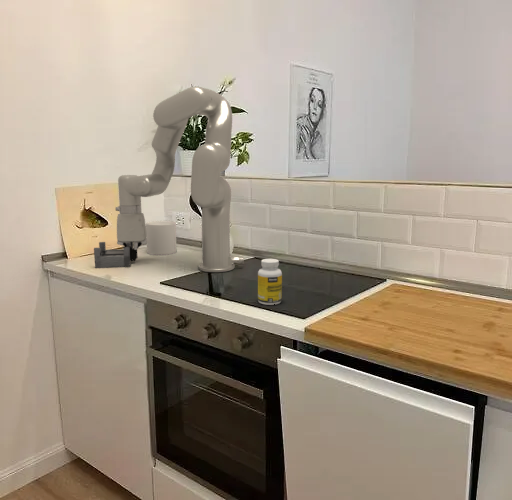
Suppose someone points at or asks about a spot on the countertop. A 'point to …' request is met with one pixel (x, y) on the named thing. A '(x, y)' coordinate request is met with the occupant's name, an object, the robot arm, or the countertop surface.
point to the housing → (111, 257)
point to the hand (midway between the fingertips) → (133, 259)
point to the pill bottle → (269, 282)
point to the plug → (114, 253)
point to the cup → (161, 237)
